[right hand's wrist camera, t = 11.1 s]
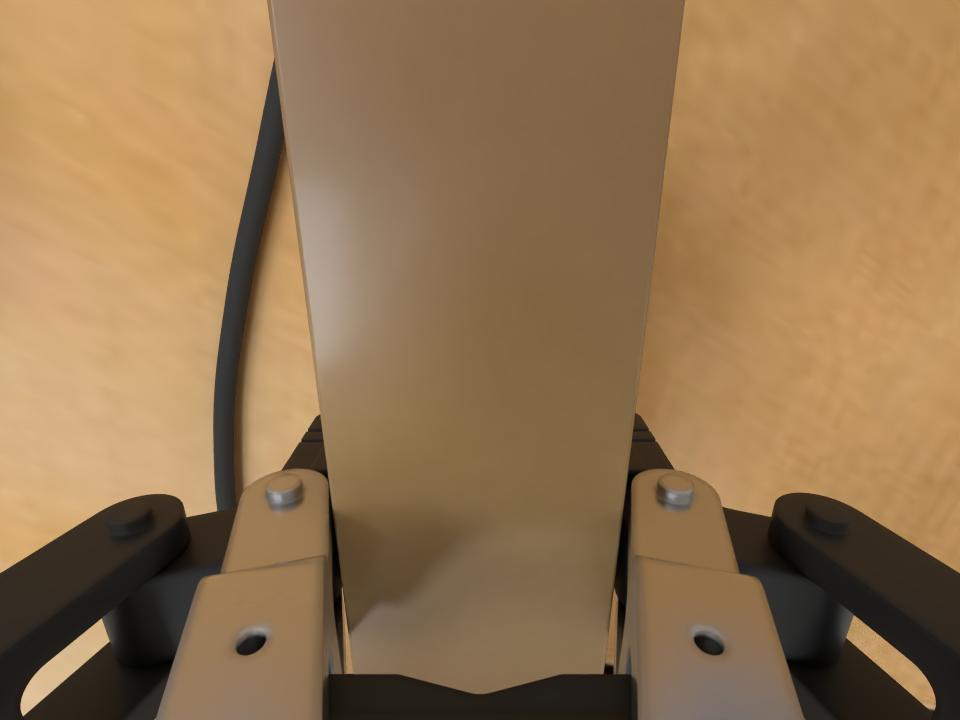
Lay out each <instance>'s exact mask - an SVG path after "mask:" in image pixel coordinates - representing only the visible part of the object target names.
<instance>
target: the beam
mask: <svg viewBox="0 0 960 720" xmlns="http://www.w3.org/2000/svg"><path fill="white" fill-rule="evenodd" d="M267 3H268V10H269V18H270V26H271V34H272V42H273V49H274V57H275V65H276V73H277V80H278V88H279V96H280V104H281V112H282V119H283V127H284V135H285V143H286V151H287V158H288V166H289V174H290V182H291V190H292V197H293V205H294V213H295V221H296V229H297V236H298V244H299V252H300V260H301V267H302V275H303V283H304V291H305V299H306V306H307V314H308V322H309V330H310V338H311V345H312V353H313V361H314V369H315V377H316V384H317V392H318V400H319V408H320V416H321V423H322V431H323V439H324V447H325V454H326V462H327V470H328V478H329V486H330V493H331V501H332V509H333V517H334V525H335V532H336V540H337V548H338V556H339V564H340V571H341V579H342V587H343V595H344V603H345V610H346V618H347V626H348V634H349V641H350V649H351V657H352V665H353V673H354V674H400V675H404V676H408V677H411V678H415V679H419V680H423V681H427V682H431V683H434V684H438V685H442V686H446V687H450V688H454V689H457V690H461V691H465V692H469V693H474V694H486V693H491V692H495V691H499V690H503V689H506V688H510V687H514V686H518V685H522V684H526V683H529V682H533V681H537V680H541V679H545V678H549V677H552V676H556V675H560V674H604V665H605V657H606V649H607V640H608V632H609V624H610V616H611V607H612V599H613V591H614V583H615V574H616V566H617V558H618V550H619V541H620V533H621V525H622V516H623V508H624V500H625V492H626V483H627V475H628V467H629V459H630V450H631V442H632V434H633V426H634V417H635V409H636V401H637V392H638V384H639V376H640V368H641V359H642V351H643V343H644V335H645V326H646V318H647V310H648V302H649V293H650V285H651V277H652V268H653V260H654V252H655V244H656V235H657V227H658V219H659V211H660V202H661V194H662V186H663V178H664V169H665V161H666V153H667V144H668V136H669V128H670V120H671V111H672V103H673V95H674V87H675V78H676V70H677V62H678V54H679V45H680V37H681V29H682V20H683V12H684V4H685V0H267Z"/></svg>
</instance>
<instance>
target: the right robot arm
mask: <svg viewBox="0 0 960 720" xmlns="http://www.w3.org/2000/svg"><path fill="white" fill-rule="evenodd" d="M283 140H284V127H283V119H282V112H281V104H280V96H279V88H278V80H277V73H276V65H275V58H274V63H273V67H272V72H271V77H270V82H269V86H268V91H267V96H266V101H265V106H264V111H263V116H262V121H261V126H260V131H259V136H258V141H257V146H256V151H255V156H254V161H253V165H252V170H251V174H250V179H249V183H248V188H247V192H246V197H245V201H244V206H243V210H242V215H241V219H240V224H239V228H238V233H237V238H236V243H235V248H234V253H233V258H232V263H231V269H230V274H229V280H228V287H227V293H226V300H225V307H224V314H223V321H222V328H221V335H220V342H219V350H218V358H217V367H216V378H215V391H214V415H213V436H214V475H215V492H216V503H217V510H218V511H217V512H212V513H207V514H202V515H197V516H191V517H186V514H185V510H184V506H183V503H182V502H181V500H180V499H178V498H176V497H174V496H171V495H166V494H151V495H144V496H139V497H134V498H131V499H128V500H124V501H122V502H119V503H116V504H114V505H112V506H110V507H108V508H106V509H104V510H102V511H100V512H99V513H97V514H95V515H94V516H92V517H91V518H89V519H87V520H86V521H84V522H82V523H81V524H79V525H78V526H76V527H74V528H73V529H71V530H70V531H68V532H66V533H65V534H63V535H61V536H60V537H58V538H57V539H55V540H53V541H52V542H50V543H49V544H47V545H45V546H44V547H42V548H40V549H39V550H37V551H36V552H34V553H32V554H31V555H29V556H28V557H26V558H24V559H23V560H21V561H19V562H18V563H16V564H15V565H13V566H11V567H10V568H8V569H7V570H5V571H3V572H2V573H0V720H154V719H155V718H156V720H804V718H805V719H806V720H960V573H958V572H957V571H955V570H953V569H952V568H950V567H949V566H947V565H945V564H944V563H942V562H941V561H939V560H937V559H936V558H934V557H932V556H931V555H929V554H928V553H926V552H924V551H923V550H921V549H920V548H918V547H916V546H915V545H913V544H911V543H910V542H908V541H907V540H905V539H903V538H902V537H900V536H899V535H897V534H895V533H894V532H892V531H890V530H889V529H887V528H886V527H884V526H882V525H881V524H879V523H878V522H876V521H874V520H873V519H871V518H869V517H868V516H866V515H865V514H863V513H861V512H860V511H858V510H856V509H855V508H853V507H851V506H849V505H847V504H845V503H842V502H840V501H837V500H835V499H832V498H828V497H825V496H821V495H816V494H810V493H790V494H786V495H783V496H781V497H779V498H778V499H777V500H776V501H775V504H774V508H773V512H772V516H771V517H768V516H762V515H757V514H752V513H747V512H742V511H737V510H733V509H728V508H725V507H722V505H721V501H720V498H719V495H718V493H717V492H716V491H715V489H714V488H713V487H712V486H710V485H709V484H708V483H706V482H705V481H703V480H702V479H700V478H698V477H696V476H694V475H691V474H688V473H685V472H682V471H677V470H675V469H674V468H673V466H672V465H671V463H670V462H669V460H668V458H667V457H666V455H665V454H664V452H663V451H662V449H661V447H660V446H659V444H658V443H657V442H655V438H654V436H653V435H652V433H651V432H650V431H649V429H648V427H647V425H646V424H645V422H644V421H643V419H642V418H641V416H639V415H638V414H636V413H635V417H634V426H633V434H632V442H631V450H630V459H629V467H628V475H627V483H626V492H625V500H624V508H623V516H622V525H621V533H620V541H619V550H618V558H617V566H616V574H615V583H614V588H615V591H616V594H617V604H616V618H615V647H614V674H560V675H556V676H552V677H549V678H545V679H541V680H537V681H533V682H529V683H526V684H522V685H518V686H514V687H510V688H506V689H503V690H499V691H495V692H491V693H486V694H474V693H469V692H465V691H461V690H457V689H454V688H450V687H446V686H442V685H438V684H434V683H431V682H427V681H423V680H419V679H415V678H411V677H408V676H404V675H400V674H346V647H345V618H344V604H343V596H342V579H341V571H340V564H339V556H338V548H337V540H336V532H335V525H334V517H333V509H332V501H331V493H330V486H329V478H328V470H327V462H326V454H325V447H324V439H323V431H322V423H321V416H320V415H318V416H317V417H316V418H315V419H314V421H313V422H312V424H311V426H310V427H309V429H308V432H306V433H305V435H304V436H303V438H302V440H301V442H300V443H299V444H298V446H297V447H296V449H295V450H294V452H293V453H292V455H291V457H290V458H289V460H288V461H287V463H286V464H285V466H284V467H283V469H282V470H281V471H278V472H275V473H272V474H269V475H266V476H264V477H262V478H260V479H258V480H257V481H255V482H254V483H252V484H251V485H250V486H248V487H247V488H246V489H245V491H244V492H243V493H242V495H241V498H240V501H239V505H238V506H236V498H235V482H234V409H235V393H236V381H237V372H238V364H239V357H240V350H241V343H242V336H243V330H244V324H245V317H246V311H247V305H248V299H249V293H250V287H251V282H252V276H253V271H254V266H255V261H256V256H257V252H258V247H259V243H260V238H261V234H262V230H263V226H264V221H265V217H266V213H267V209H268V205H269V201H270V197H271V192H272V188H273V184H274V180H275V176H276V171H277V167H278V162H279V158H280V154H281V149H282V144H283ZM854 615H855V616H856V617H857V618H859V619H860V620H861V621H862V622H864V623H865V624H866V625H867V626H869V627H870V628H871V629H872V630H873V631H875V632H876V633H877V634H878V635H880V636H881V637H882V638H883V639H885V640H886V641H887V642H888V643H889V644H891V645H892V646H893V647H894V648H896V649H897V650H898V651H899V652H901V653H902V654H903V655H904V656H905V657H907V658H908V659H909V660H910V661H912V662H913V663H914V664H915V665H916V666H917V667H918V668H919V669H920V670H921V671H922V673H923V674H924V675H925V677H926V678H927V680H928V681H929V683H930V685H931V687H932V689H933V691H934V694H935V698H936V708H935V711H934V713H932V712H931V711H930V710H929V709H927V708H926V707H925V706H924V705H923V704H922V703H921V702H919V701H918V700H917V699H916V698H915V697H914V696H912V695H911V694H910V693H909V692H908V691H907V690H906V689H904V688H903V687H902V686H901V685H900V684H899V683H897V682H896V681H895V680H894V679H893V678H892V677H891V676H889V675H888V674H887V673H886V672H885V671H884V670H882V669H881V668H880V667H879V666H878V665H877V664H876V663H874V662H873V661H872V660H871V659H870V658H869V657H867V656H866V655H865V654H864V653H863V652H862V651H861V650H859V649H858V648H857V647H856V646H855V645H854V644H852V643H851V642H850V641H849V640H848V639H847V638H846V636H847V633H848V630H849V628H850V625H851V622H852V619H853V616H854ZM101 618H102V620H103V623H104V626H105V629H106V632H107V635H108V637H109V640H110V642H109V643H108V644H106V645H105V646H104V647H103V648H102V649H101V650H99V651H98V652H97V653H96V654H95V655H94V656H93V657H91V658H90V659H89V660H88V661H87V662H86V663H84V664H83V665H82V666H81V667H80V668H79V669H78V670H76V671H75V672H74V673H73V674H72V675H71V676H69V677H68V678H67V679H66V680H65V681H64V682H63V683H61V684H60V685H59V686H58V687H57V688H56V689H54V690H53V691H52V692H51V693H50V694H49V695H48V696H46V697H45V698H44V699H43V700H42V701H41V702H39V703H38V704H37V705H36V706H35V707H34V708H32V709H31V710H30V711H29V712H28V713H27V714H26V715H24V716H23V715H22V713H21V710H20V703H21V698H22V695H23V692H24V690H25V688H26V686H27V685H28V683H29V682H30V680H31V679H32V677H33V676H34V675H35V674H36V673H37V671H38V670H39V669H40V668H41V667H43V666H44V665H45V664H46V663H47V662H48V661H50V660H51V659H52V658H53V657H54V656H56V655H57V654H58V653H59V652H61V651H62V650H63V649H64V648H66V647H67V646H68V645H69V644H71V643H72V642H73V641H74V640H75V639H77V638H78V637H79V636H80V635H82V634H83V633H84V632H85V631H87V630H88V629H89V628H90V627H91V626H93V625H94V624H95V623H96V622H98V621H99V620H100V619H101Z"/></svg>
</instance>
